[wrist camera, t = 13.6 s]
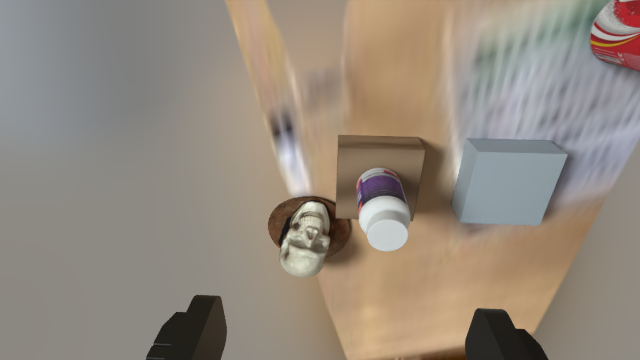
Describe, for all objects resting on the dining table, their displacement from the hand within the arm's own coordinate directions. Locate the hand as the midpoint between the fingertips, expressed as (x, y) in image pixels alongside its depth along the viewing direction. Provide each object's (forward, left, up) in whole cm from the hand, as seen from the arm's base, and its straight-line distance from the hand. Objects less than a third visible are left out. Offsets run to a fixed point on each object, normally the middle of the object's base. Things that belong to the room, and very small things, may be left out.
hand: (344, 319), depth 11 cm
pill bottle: (+12, +5, -29) cm, 32 cm away
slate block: (+12, +21, -33) cm, 41 cm away
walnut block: (+12, +5, -33) cm, 36 cm away
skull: (+22, -4, -34) cm, 40 cm away
